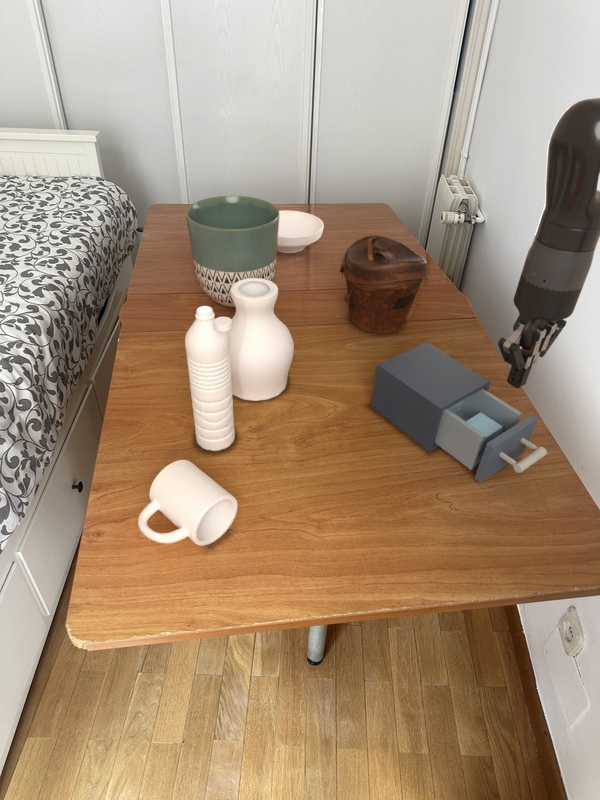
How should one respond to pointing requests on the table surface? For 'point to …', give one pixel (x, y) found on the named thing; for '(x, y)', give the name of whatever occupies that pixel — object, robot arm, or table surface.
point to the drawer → (469, 440)
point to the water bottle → (210, 379)
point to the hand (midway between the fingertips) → (515, 383)
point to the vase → (258, 342)
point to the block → (485, 428)
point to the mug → (188, 505)
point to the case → (381, 282)
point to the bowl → (297, 230)
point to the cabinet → (422, 390)
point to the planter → (232, 242)
